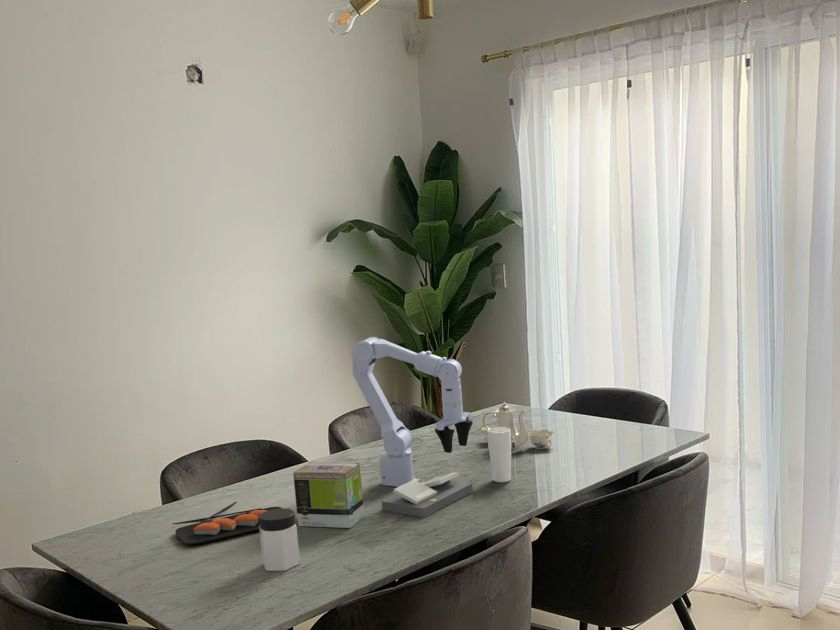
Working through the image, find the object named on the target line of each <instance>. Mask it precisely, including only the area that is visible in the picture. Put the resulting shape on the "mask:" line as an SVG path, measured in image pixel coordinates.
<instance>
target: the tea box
mask: <svg viewBox="0 0 840 630" xmlns="http://www.w3.org/2000/svg"><path fill="white" fill-rule="evenodd" d="M292 474H293V475H292V476H293V484H294V495H295V504H296V505H295V506H296V515H297V516H296V517H297V522H298V523H297V524H298V526H299V527H314V528H315V527H317V528H335V529H336V528H337V529H338V528H339V529H341V528H342V529H351V528H352V527H354V526H355V525H356V524H357V523H358V522H360V521H361V520H362V519H363V518H364V517H365V509H364V507H365V506H364V497H363V487H362V485H363V484H362V477H361V474H362V473H361V467H360V463H359V462H308V463H307V464H305V465H303V466H302V467H300V468H298V469H296V470H295V471H293V472H292Z"/></svg>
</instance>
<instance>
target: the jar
mask: <svg viewBox="0 0 840 630" xmlns="http://www.w3.org/2000/svg"><path fill="white" fill-rule="evenodd" d="M295 516H296V515H295V511H294V510H292V509H290V508H283V509H273V510H269V511H266V512H263V513H262V514H260V515H259V530H258V531H259V539H260V549H261V557H262V558H261V562H262V565H263V567H264V569H265V571H266V572H286V571H288V570H290V569H292V568H294V566H295V567H297V566H299V565H300V564H301V563H300V548H299V541H298V529H297V528H298V527H297V524H296V518H295Z"/></svg>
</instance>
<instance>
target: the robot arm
mask: <svg viewBox="0 0 840 630" xmlns="http://www.w3.org/2000/svg"><path fill="white" fill-rule="evenodd" d="M350 356H351V358H352V359H351V360H352V375H353V378H354V379H355V382H356V383H357V386H358V387H359V389H360V391H361V393H362V394H363V397H364V398H365V400H366V403H367V404H368V406H369V407H370V410H371V411H372V413H373V415H374V417H375V418H376V421H377V422H378V424H379V426H380V429H381V430H380V433H381V434H380V436H381V438H382V442H383V448H384V451H385V452H383V453H382V455H381V456H380V460H379V471H380V481H379V485H382V486H389V487H390V486H391V487H395V488H397V487H399V486H402V485H404V484H406V483H408V482H410V481H412V480H416V481H418V482H420V481H421V479H420V478H415V477H414V467H413V466H414V465H413V450H412V448H411V445H412V444H413V442H414V436H413V433H412V431H410V429H408V428H407V427H406V426H405V425H404V422H403V421H401V420H399V418H397V416H396V415H395V413H394V410H393V409H392V407H391V406H390V403H389V401H388V400H387V397H386V395H385V394H384V392H383V390H382V388H381V386H380V384H379V382H378V381H377V379H376V378H375V376H374V373H373V370H374V367H375V364H376V362H377V360H378V359H381V358H386V357H390V358H393V359H396V360H399V361H402V362H405V363H409V364H411V365H413V366H414V368H415V369H416V370H417V371H419V372H421V373H425V374H428V375H430V376H432V377H435V378H437V377H438V379H439V380H440V382H441V383H440V384H441V389H440V390H441V402H442V404H441V405H442V416H443V417H442V418H441V419H440V420H439V421H438V422H435V423H436V424H435V425H436V426H435V428H434V431H435V434H437V437H438V438H439V441H440V442H441V446H442V448H443V451H444V453H447V454H449V453H452V452H453V439H454V433H455V430H456V434H457V441H458V444H459V446H460V447H461V446H462V447H466V446H467V443H468V439H469V434H470V431H471V428H472V425H473V424H474V423H473V420H471V412H469V411H464V409H463V407H464V406H463V393H462V392H463V391H462V385H461V383H462V382H461V375H462V373H463V368H462V365H461V363H460V362H459V361H458V360H455V359H454V358H450V359H447V358H448V357H445V356H443V357H441V356H439V355H436V354H434V353H433V354H432V351H430V350H426V351H421V352H415V351H412V350H410V349H407V348H405V347H402V346H400V345H398V344H396V343H394V342H390V341H388V340H386V339H385V338H378V337H376V336H369V337H367V338H366V339H364V340H361V341H358V342H357V343H355V345H354V347H353V349H352V351H351V353H350ZM452 426H454V427H455V429H452V428H450V427H452Z"/></svg>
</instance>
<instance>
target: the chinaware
mask: <svg viewBox="0 0 840 630" xmlns="http://www.w3.org/2000/svg"><path fill="white" fill-rule="evenodd" d="M490 414H493V415H492V417H493V418H496V419H497V420H496V424H491V425H489V426H488V425H487V424H486V423H487V422H486V417H487V416H488V415H490ZM524 414H525V410H521V411H520V412H519V413H518V416H517V418H518V427H519V431H518V430H517V427H516V424H515V418H514V415H515V408H511V407H510V406H509V405H508V404H507V403H506V402H505V401H503V403H502V405H501V406H500V407H499V408H498V409H495V411H488V412H486V413H485V414H484V416H482V417H483V418H482V423H483V427H482V428H481V430H480V431H479V433H478V434H479V437H480V438H481V439H483V440H485V439H486V441H487V442H488V435H487V431H488V429H490V428H495V427H507V428H509V429H510V431H511V455H512V454H517V453H519V452H520V451H521V448H523V446H524V445H525V444H526V443H527V442H528V439H529V441H530V443H531V444H532V445H533V446H534V447H535V448H536V450H544V449H545V450H546V449H547V448H551V447H552V437H553V435H554V432H555V431H550V430H548V429H545V428H543V429H540V430H537V429H531V430H530V431H529V432H528V429H527V426H526V423H525V420H524V417H523V416H524ZM481 432H483V434H484V436H485V438H484V437H482V435H481Z"/></svg>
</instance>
